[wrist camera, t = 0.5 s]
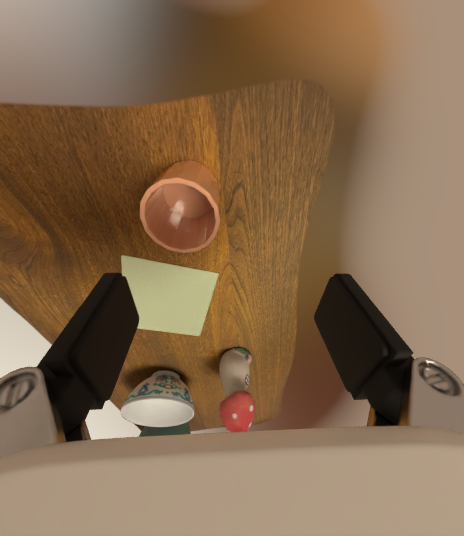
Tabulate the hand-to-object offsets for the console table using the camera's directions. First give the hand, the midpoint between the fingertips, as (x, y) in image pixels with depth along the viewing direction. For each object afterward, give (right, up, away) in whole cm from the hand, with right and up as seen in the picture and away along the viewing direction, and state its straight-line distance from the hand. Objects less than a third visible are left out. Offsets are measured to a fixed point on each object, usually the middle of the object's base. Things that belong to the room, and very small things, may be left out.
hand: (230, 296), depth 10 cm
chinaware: (-16, -25, +40) cm, 50 cm away
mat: (-11, -4, +25) cm, 28 cm away
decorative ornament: (+1, -18, +36) cm, 41 cm away
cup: (-5, +10, +15) cm, 19 cm away
